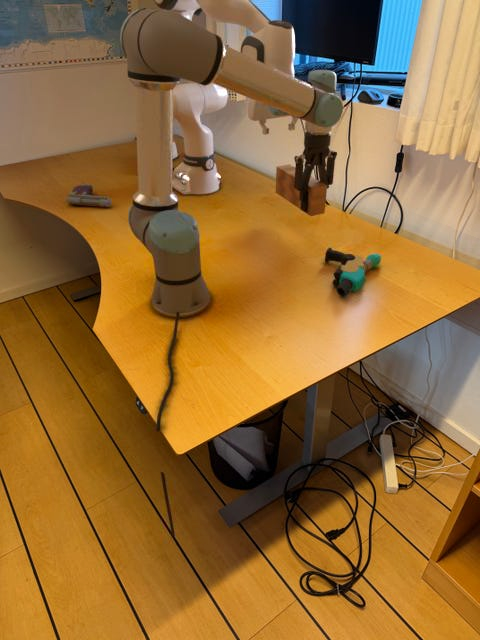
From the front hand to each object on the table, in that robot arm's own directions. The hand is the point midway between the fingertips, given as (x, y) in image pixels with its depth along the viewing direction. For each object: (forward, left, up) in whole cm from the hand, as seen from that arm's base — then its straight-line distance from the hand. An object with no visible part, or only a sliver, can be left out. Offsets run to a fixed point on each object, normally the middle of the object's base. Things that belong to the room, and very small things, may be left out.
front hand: (311, 209), depth 148 cm
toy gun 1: (+28, +81, -10) cm, 87 cm away
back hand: (+16, +11, +19) cm, 27 cm away
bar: (+7, +4, -1) cm, 8 cm away
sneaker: (+73, +66, -10) cm, 99 cm away
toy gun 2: (-24, -9, -10) cm, 27 cm away
